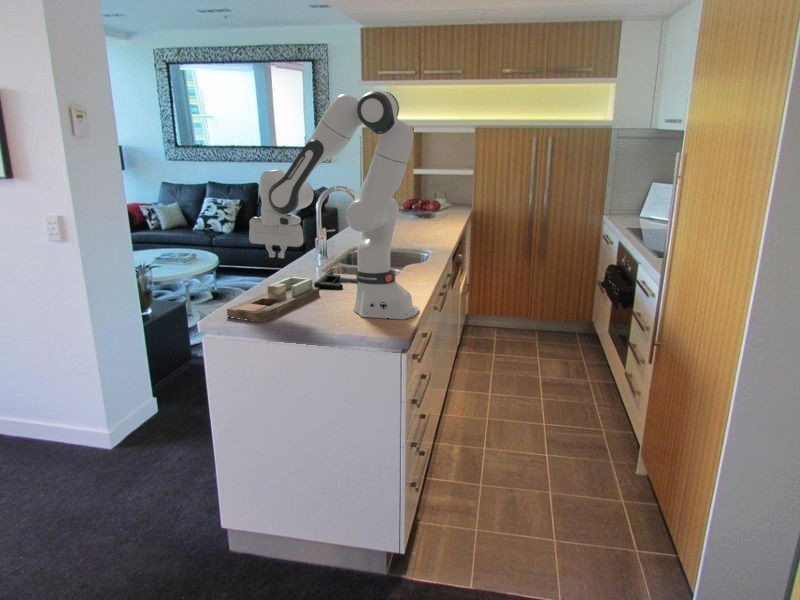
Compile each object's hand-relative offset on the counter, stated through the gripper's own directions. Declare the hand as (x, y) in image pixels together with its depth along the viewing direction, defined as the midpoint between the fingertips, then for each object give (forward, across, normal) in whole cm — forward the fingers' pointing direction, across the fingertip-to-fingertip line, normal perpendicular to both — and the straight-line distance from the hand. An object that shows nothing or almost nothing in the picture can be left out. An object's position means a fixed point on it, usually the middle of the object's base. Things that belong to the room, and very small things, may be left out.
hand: (276, 257), depth 202 cm
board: (+17, 0, -2) cm, 17 cm away
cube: (+14, 0, -1) cm, 14 cm away
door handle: (+18, +4, +35) cm, 40 cm away
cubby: (+14, 0, +9) cm, 17 cm away
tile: (+14, 0, -16) cm, 21 cm away
